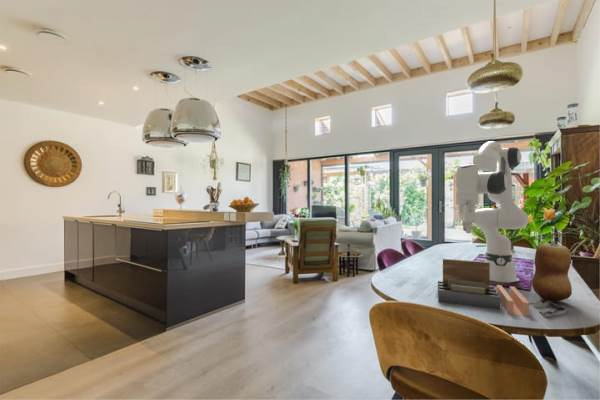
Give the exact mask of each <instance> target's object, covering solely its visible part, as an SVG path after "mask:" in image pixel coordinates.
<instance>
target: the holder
mask: <svg viewBox="0 0 600 400" xmlns="http://www.w3.org/2000/svg"><path fill="white" fill-rule="evenodd" d="M496 292H497V293H498V296H500V297H501V307H503V309H504V310H505V312H506V314H508V315H515V316H523V317H530V304H529V301H528V300H527V299H526V297H524V296H523V295H522V293H521V292H520V291H519V290H518V289H517V287H515V286H509V292H508V291H506V290H505V288H504V287H503V285H500V284H496ZM508 293H509V294H508Z"/></svg>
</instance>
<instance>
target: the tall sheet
mask: <svg viewBox="0 0 600 400" xmlns="http://www.w3.org/2000/svg"><path fill="white" fill-rule="evenodd" d="M448 279H453V280H463V281H473V282H483V283H486V288H488V289H490V286H491V284H490V281H491V280H490V263H489V262H485V261H479V260H467V259H456V258H455V259H453V258H452V259H451V258H442V281H443V284H448Z"/></svg>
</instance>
